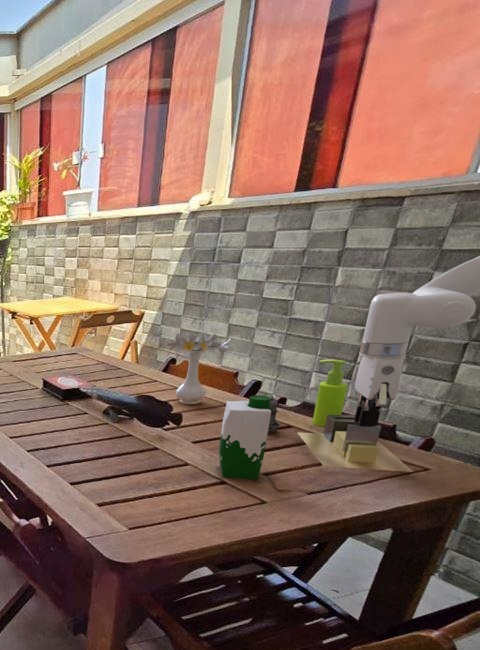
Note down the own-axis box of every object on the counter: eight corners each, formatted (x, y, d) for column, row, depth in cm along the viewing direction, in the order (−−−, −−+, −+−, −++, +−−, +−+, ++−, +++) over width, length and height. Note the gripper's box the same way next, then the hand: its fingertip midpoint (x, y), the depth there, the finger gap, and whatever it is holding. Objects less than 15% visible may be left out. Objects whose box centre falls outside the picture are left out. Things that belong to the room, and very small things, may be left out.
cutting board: (370, 439, 133) (371, 435, 133) (412, 476, 113) (413, 471, 113) (296, 436, 140) (297, 432, 140) (323, 470, 120) (324, 466, 120)
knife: (372, 451, 121) (385, 401, 116) (375, 454, 119) (388, 403, 115) (340, 449, 123) (352, 400, 119) (343, 452, 122) (355, 402, 117)
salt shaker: (252, 430, 147) (258, 392, 143) (277, 432, 144) (284, 393, 140) (254, 437, 143) (260, 398, 139) (280, 439, 140) (287, 399, 136)
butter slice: (371, 460, 120) (375, 445, 119) (375, 463, 118) (378, 448, 117) (344, 458, 122) (348, 443, 121) (347, 461, 121) (351, 446, 119)
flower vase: (226, 407, 168) (236, 334, 160) (165, 407, 175) (171, 337, 167) (217, 396, 179) (225, 327, 171) (160, 396, 186) (165, 330, 178)
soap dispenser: (309, 422, 148) (322, 357, 142) (340, 426, 143) (354, 359, 137) (304, 427, 145) (317, 361, 138) (335, 432, 140) (350, 363, 133)
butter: (357, 446, 128) (360, 432, 126) (369, 458, 121) (373, 443, 120) (332, 445, 130) (335, 431, 129) (343, 456, 123) (346, 442, 122)
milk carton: (263, 481, 119) (276, 403, 112) (218, 478, 123) (228, 402, 116) (256, 467, 126) (269, 392, 119) (214, 464, 130) (224, 391, 123)
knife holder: (365, 436, 133) (370, 415, 131) (374, 444, 128) (380, 422, 126) (323, 434, 137) (327, 414, 135) (330, 442, 132) (334, 421, 130)
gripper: (422, 356, 104) (400, 436, 110) (390, 341, 117) (372, 414, 124) (375, 356, 108) (356, 434, 114) (349, 342, 121) (333, 413, 127)
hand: (365, 423), depth 119 cm, fingers closed on knife, 2 cm apart
